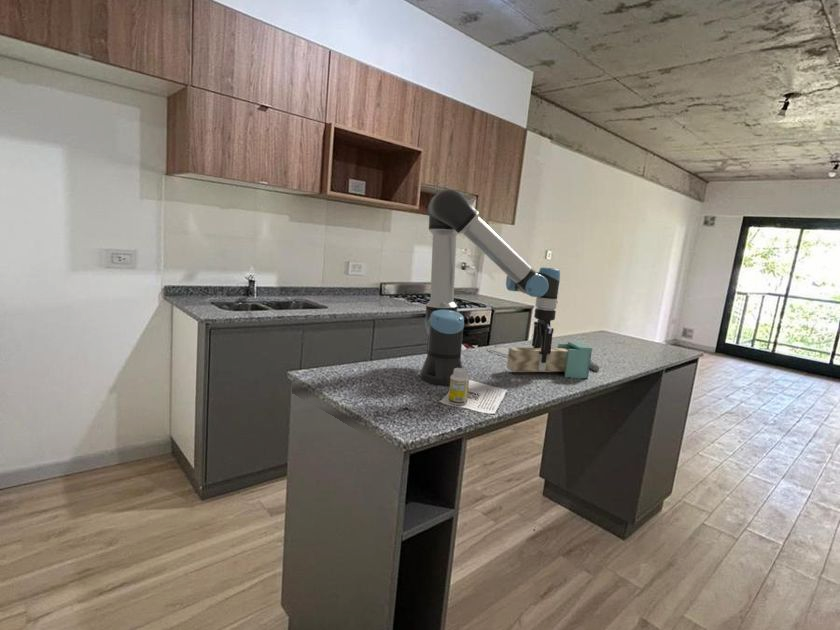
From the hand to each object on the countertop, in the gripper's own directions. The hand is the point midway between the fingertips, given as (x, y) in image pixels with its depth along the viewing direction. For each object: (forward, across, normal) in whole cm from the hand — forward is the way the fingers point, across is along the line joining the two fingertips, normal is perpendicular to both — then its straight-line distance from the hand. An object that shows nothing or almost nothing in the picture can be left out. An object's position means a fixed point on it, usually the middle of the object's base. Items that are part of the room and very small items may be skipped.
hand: (538, 368), depth 174 cm
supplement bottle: (+2, -35, +39) cm, 52 cm away
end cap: (+2, 0, -13) cm, 14 cm away
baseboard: (+3, +21, 0) cm, 21 cm away
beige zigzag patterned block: (+1, 0, 0) cm, 1 cm away
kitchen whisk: (+3, +21, -28) cm, 35 cm away
